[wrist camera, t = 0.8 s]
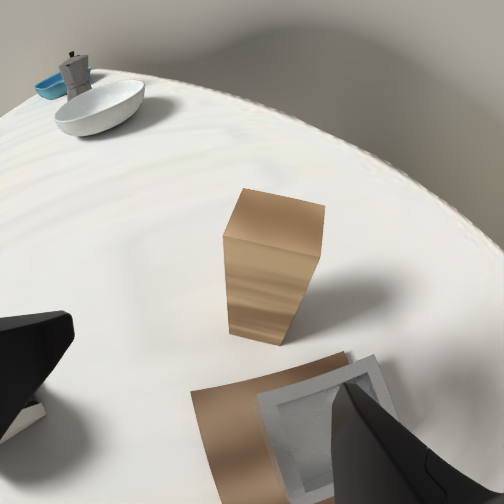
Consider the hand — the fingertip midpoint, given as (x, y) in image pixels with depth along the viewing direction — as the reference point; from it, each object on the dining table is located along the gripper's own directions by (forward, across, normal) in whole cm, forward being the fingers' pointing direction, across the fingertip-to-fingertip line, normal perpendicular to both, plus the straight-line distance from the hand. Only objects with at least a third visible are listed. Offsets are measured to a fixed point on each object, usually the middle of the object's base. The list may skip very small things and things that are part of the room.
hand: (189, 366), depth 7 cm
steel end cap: (+8, -8, +11) cm, 16 cm away
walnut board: (+7, -6, +13) cm, 16 cm away
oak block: (+16, -2, +6) cm, 17 cm away
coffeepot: (+54, +60, -26) cm, 85 cm away
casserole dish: (+72, +93, -41) cm, 125 cm away
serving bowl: (+42, +39, -16) cm, 60 cm away
